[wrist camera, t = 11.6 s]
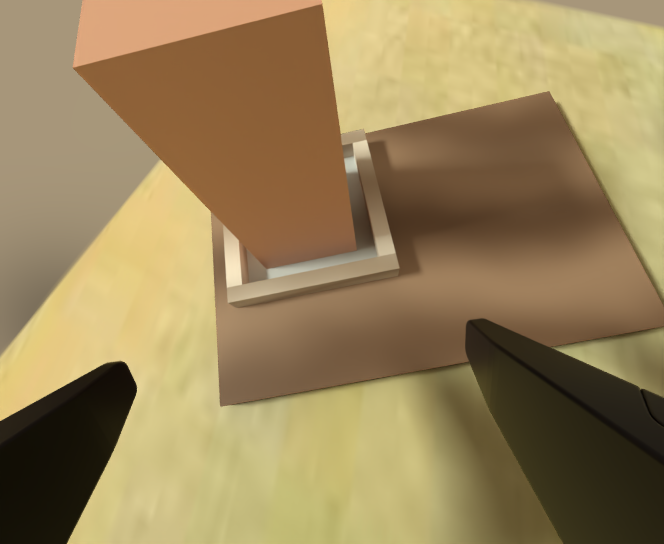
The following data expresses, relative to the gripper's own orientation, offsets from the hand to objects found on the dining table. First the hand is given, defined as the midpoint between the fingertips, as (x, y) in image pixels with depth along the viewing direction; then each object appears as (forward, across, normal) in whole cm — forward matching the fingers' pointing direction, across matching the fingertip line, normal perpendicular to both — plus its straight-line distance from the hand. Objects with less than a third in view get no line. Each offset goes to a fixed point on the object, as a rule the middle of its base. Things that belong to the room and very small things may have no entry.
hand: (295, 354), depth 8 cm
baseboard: (+10, -5, +1) cm, 12 cm away
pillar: (+11, 0, -1) cm, 11 cm away
